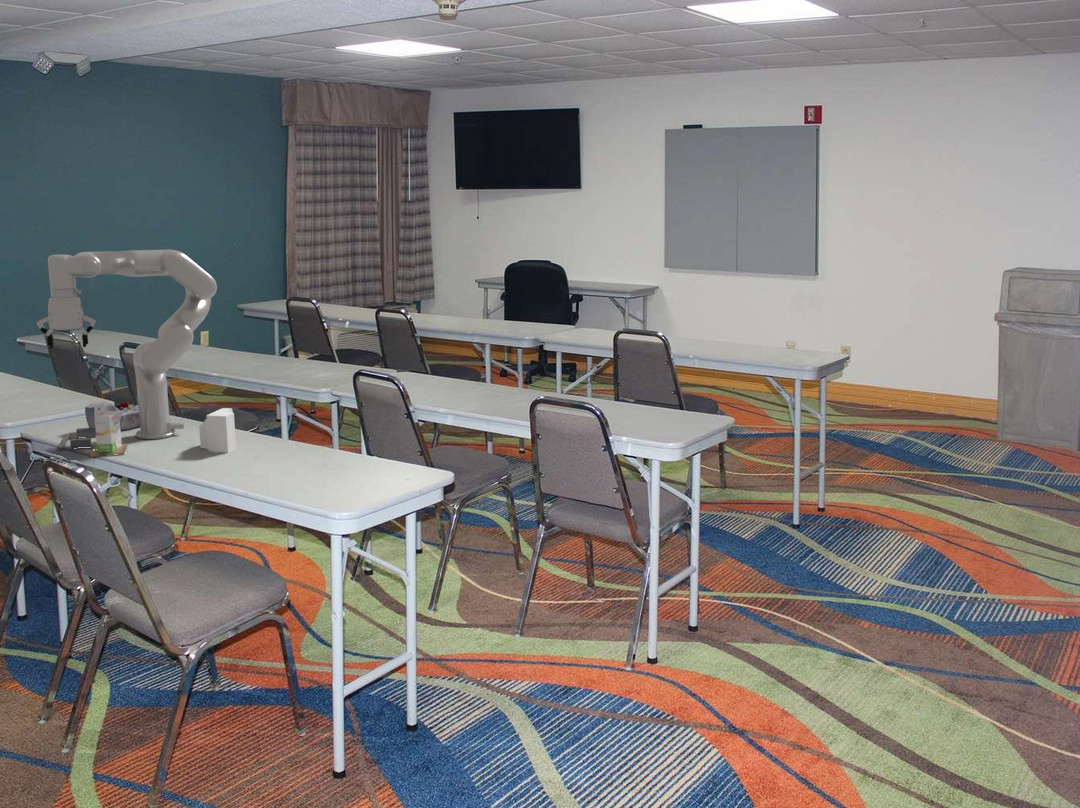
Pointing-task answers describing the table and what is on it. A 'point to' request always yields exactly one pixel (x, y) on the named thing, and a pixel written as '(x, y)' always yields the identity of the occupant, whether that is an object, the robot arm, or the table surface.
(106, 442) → the ink box
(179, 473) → the table surface
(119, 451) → the walnut board
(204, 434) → the white chunky block
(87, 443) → the vise jaws
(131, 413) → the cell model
